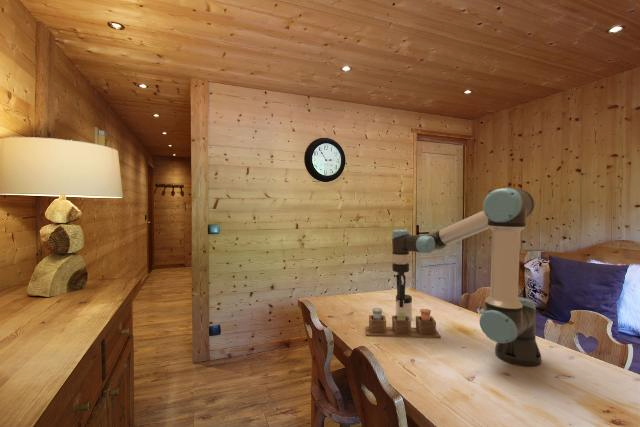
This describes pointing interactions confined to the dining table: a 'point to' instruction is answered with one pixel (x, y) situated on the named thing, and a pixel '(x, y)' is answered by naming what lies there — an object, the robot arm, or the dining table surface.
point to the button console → (402, 328)
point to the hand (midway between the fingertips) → (400, 313)
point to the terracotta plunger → (425, 314)
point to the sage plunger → (401, 316)
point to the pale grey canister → (377, 313)
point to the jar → (406, 306)
